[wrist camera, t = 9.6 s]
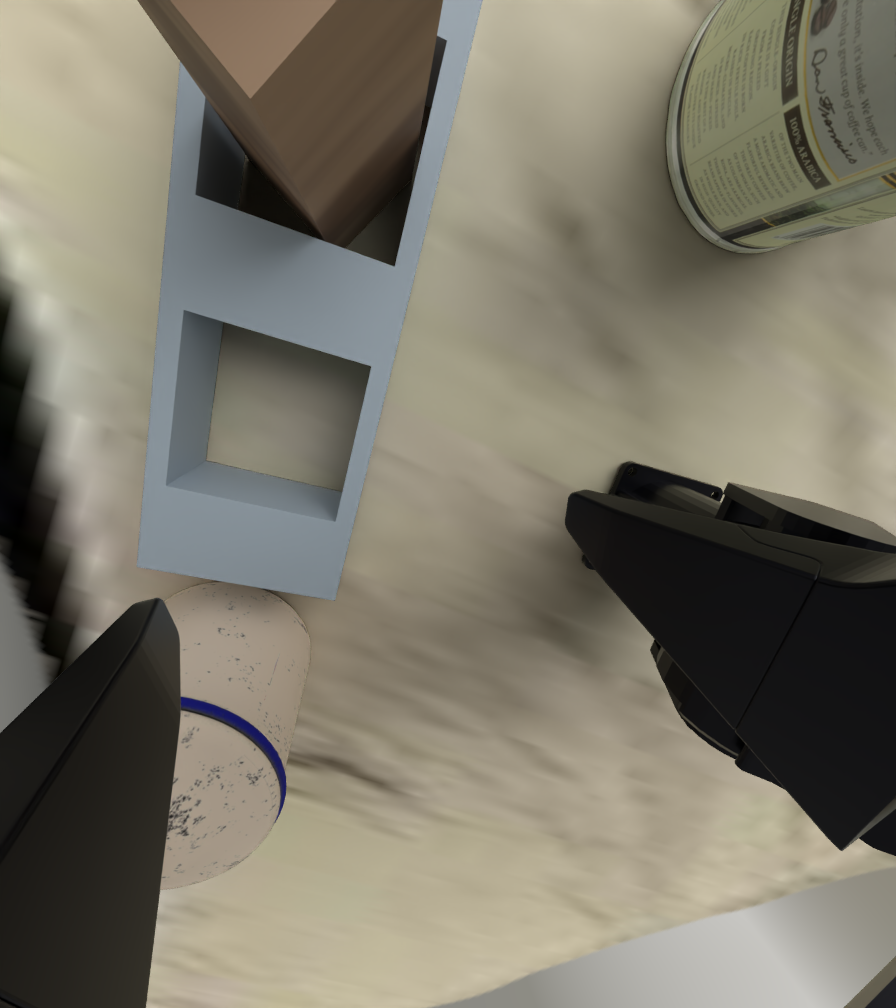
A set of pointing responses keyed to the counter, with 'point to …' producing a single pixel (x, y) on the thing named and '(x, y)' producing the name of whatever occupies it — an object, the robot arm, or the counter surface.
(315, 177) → the peg
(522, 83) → the counter surface
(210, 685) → the teacup with lid
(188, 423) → the blue peg holder
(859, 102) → the coffee can
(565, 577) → the counter surface
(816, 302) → the counter surface
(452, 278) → the counter surface
